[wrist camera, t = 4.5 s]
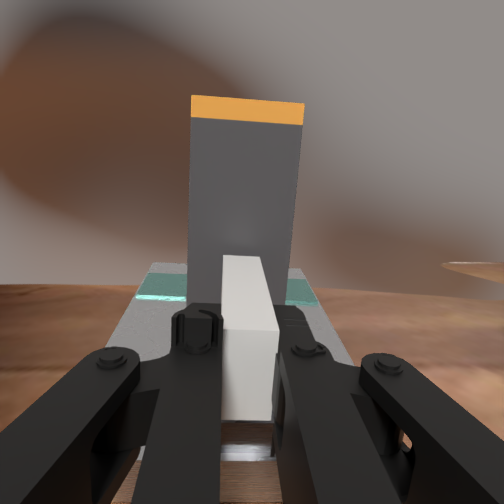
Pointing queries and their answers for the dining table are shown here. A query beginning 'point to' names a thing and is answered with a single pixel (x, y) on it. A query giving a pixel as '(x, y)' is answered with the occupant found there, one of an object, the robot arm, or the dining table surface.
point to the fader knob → (241, 190)
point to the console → (232, 431)
